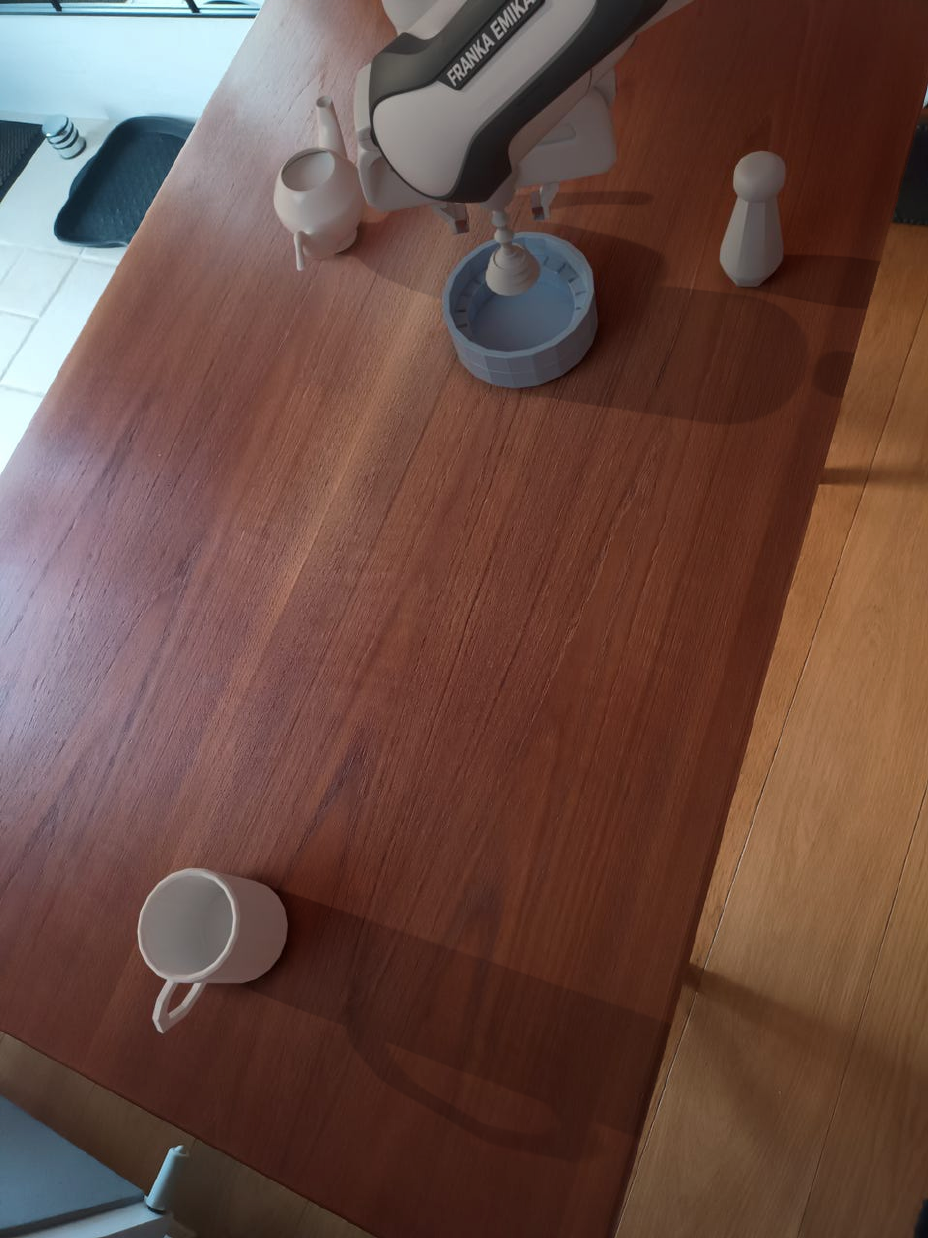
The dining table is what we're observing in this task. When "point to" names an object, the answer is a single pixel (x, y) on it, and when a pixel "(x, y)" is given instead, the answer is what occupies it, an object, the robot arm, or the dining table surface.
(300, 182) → the teapot
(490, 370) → the bowl
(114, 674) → the dining table surface
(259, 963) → the mug
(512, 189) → the chalice
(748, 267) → the salt shaker
